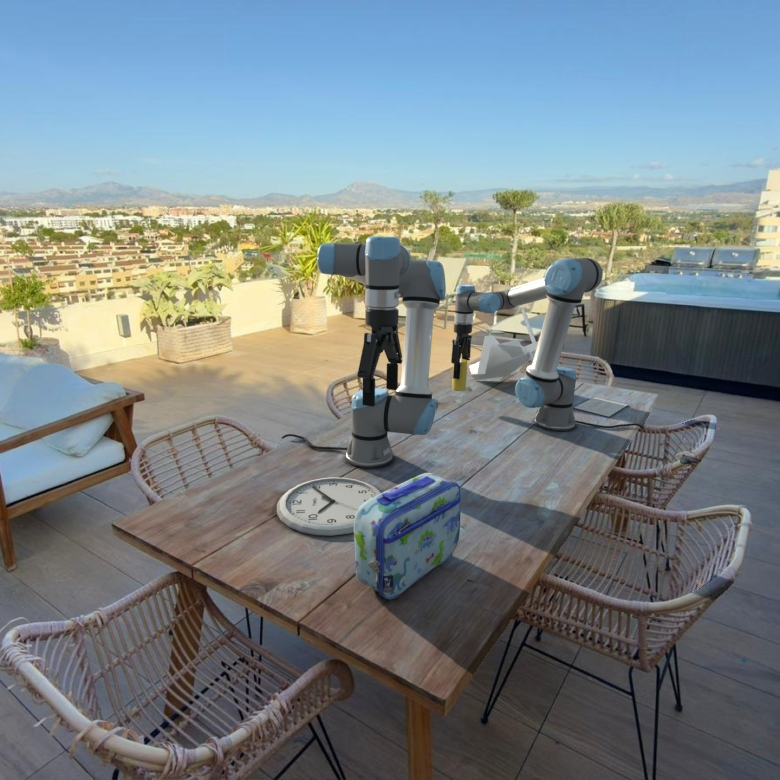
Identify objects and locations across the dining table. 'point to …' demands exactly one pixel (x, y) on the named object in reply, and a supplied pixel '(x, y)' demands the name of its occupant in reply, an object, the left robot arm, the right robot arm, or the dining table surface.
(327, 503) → the wall clock
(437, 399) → the fork
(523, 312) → the white plastic object
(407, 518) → the lunch box
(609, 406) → the invitation card
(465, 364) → the can
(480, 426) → the dining table surface
